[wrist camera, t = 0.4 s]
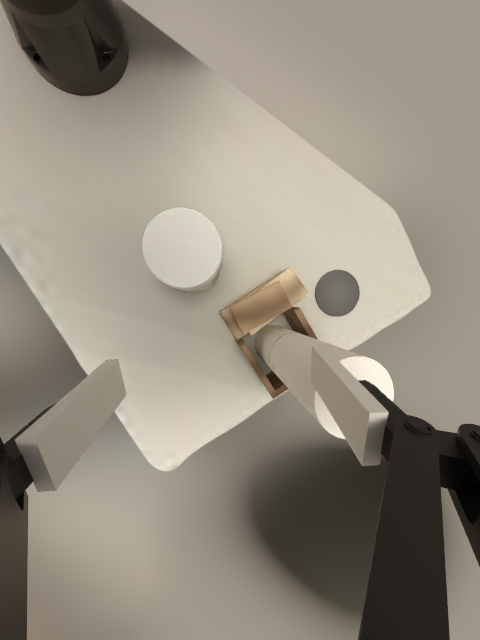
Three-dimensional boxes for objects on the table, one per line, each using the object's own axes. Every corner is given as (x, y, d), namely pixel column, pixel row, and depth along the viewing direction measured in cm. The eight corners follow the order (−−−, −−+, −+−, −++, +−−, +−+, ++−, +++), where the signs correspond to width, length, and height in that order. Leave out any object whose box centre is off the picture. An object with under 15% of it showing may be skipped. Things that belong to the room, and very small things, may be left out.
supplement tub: (199, 228, 40) (192, 186, 25) (230, 272, 41) (241, 256, 27) (154, 260, 39) (121, 236, 25) (187, 304, 41) (175, 305, 26)
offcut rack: (217, 311, 41) (218, 313, 34) (285, 268, 42) (299, 261, 35) (263, 383, 44) (273, 398, 37) (326, 341, 45) (348, 348, 38)
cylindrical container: (262, 366, 43) (330, 453, 19) (249, 333, 43) (302, 376, 18) (295, 352, 44) (403, 418, 19) (283, 319, 43) (380, 343, 18)
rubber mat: (313, 272, 43) (314, 272, 43) (356, 268, 44) (357, 267, 44) (317, 318, 44) (318, 319, 44) (359, 313, 45) (360, 313, 45)
